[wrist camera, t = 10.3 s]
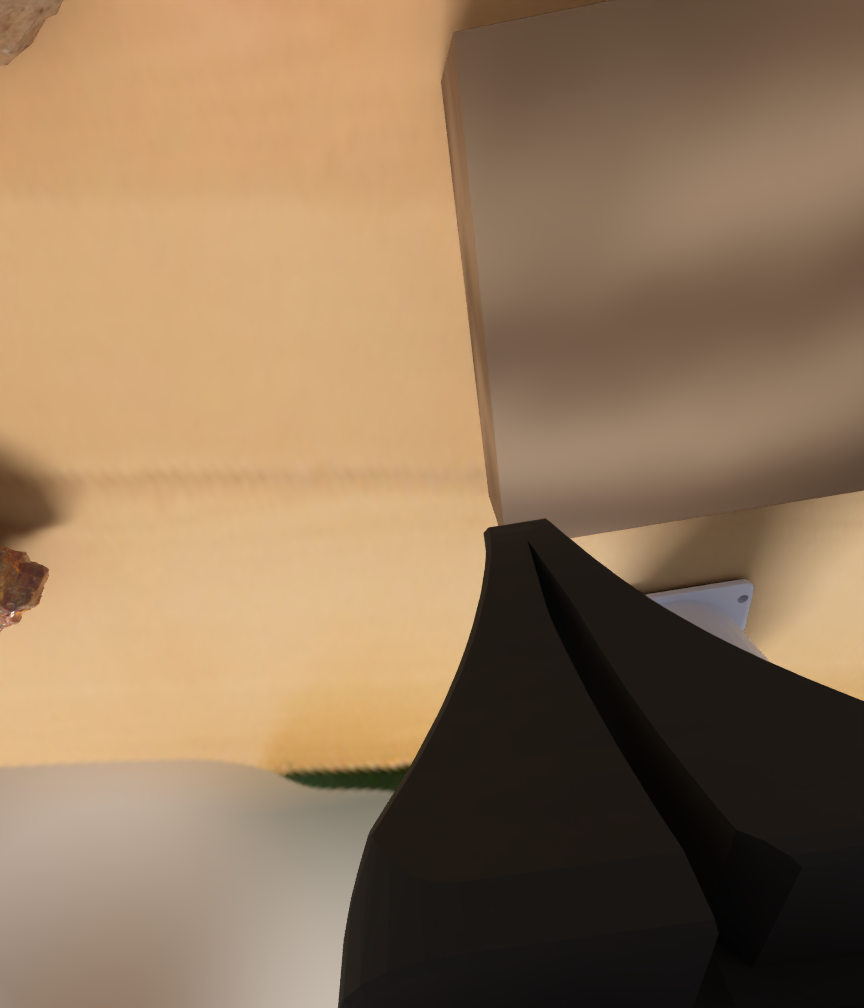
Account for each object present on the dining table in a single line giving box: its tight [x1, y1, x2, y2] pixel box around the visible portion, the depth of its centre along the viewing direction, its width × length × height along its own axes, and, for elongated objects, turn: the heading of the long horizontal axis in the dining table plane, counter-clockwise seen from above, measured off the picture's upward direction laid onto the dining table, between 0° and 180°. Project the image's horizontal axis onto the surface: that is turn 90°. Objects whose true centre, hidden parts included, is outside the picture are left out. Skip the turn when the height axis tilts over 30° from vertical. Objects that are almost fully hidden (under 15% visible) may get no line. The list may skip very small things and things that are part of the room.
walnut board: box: [441, 0, 864, 538], centre depth 15 cm, size 14×16×4 cm
